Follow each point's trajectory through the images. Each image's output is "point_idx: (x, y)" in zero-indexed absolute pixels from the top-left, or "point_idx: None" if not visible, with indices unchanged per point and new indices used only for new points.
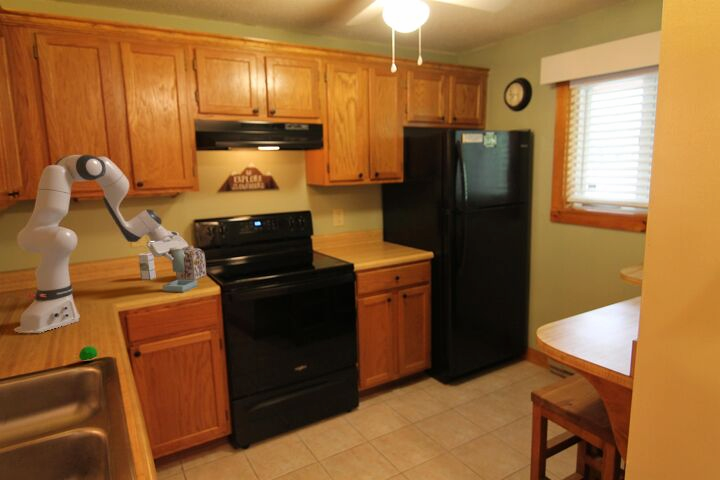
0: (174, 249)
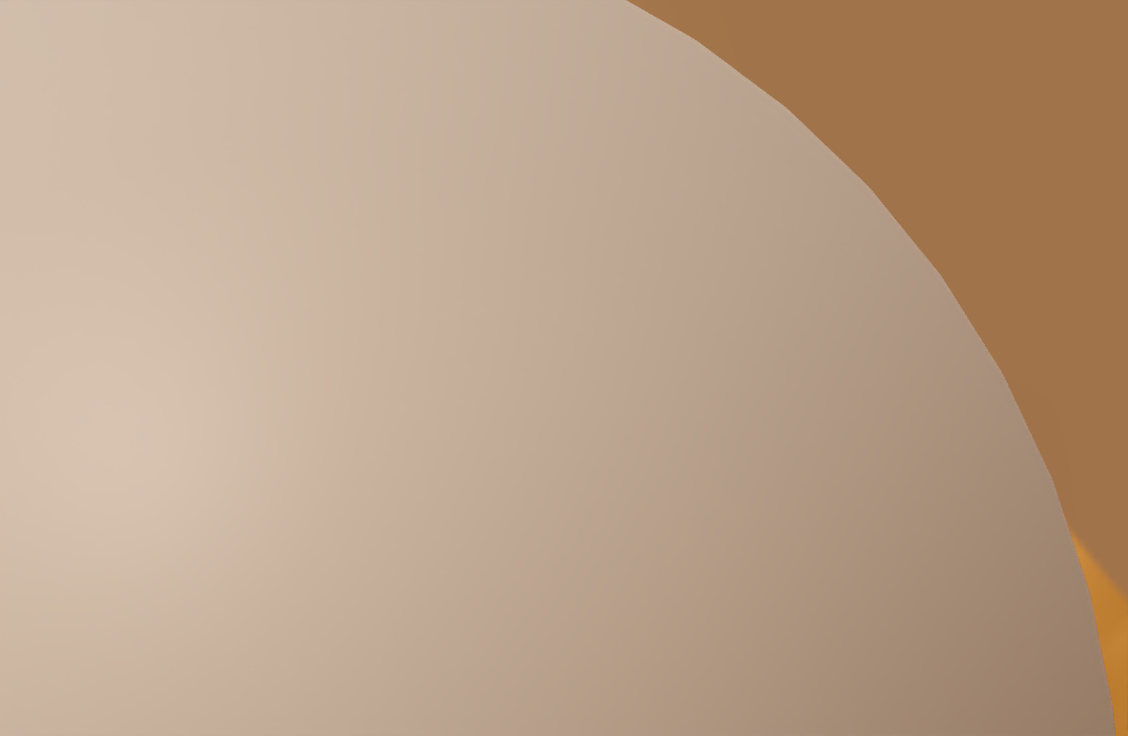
0: (1023, 518)
